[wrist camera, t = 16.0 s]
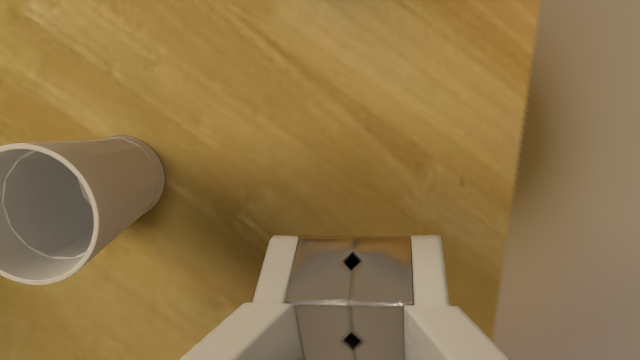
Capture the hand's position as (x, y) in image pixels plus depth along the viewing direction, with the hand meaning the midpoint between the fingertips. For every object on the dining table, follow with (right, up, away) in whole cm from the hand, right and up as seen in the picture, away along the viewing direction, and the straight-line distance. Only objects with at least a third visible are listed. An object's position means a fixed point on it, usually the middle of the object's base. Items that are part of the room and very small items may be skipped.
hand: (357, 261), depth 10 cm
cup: (-16, +2, +31) cm, 35 cm away
